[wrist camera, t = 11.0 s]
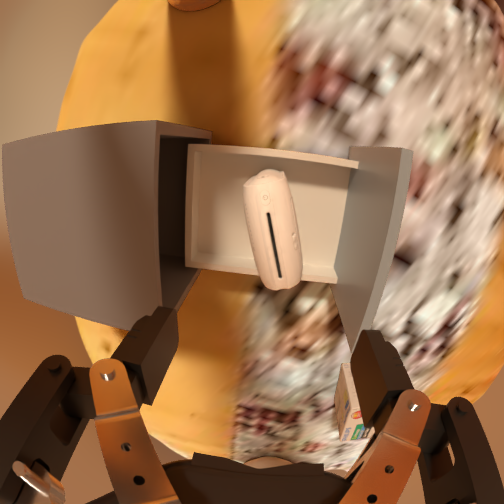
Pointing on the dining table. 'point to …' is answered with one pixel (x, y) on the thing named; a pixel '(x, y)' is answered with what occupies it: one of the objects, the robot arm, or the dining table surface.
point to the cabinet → (101, 218)
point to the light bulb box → (349, 408)
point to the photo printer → (273, 229)
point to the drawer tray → (305, 217)
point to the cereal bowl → (267, 462)
